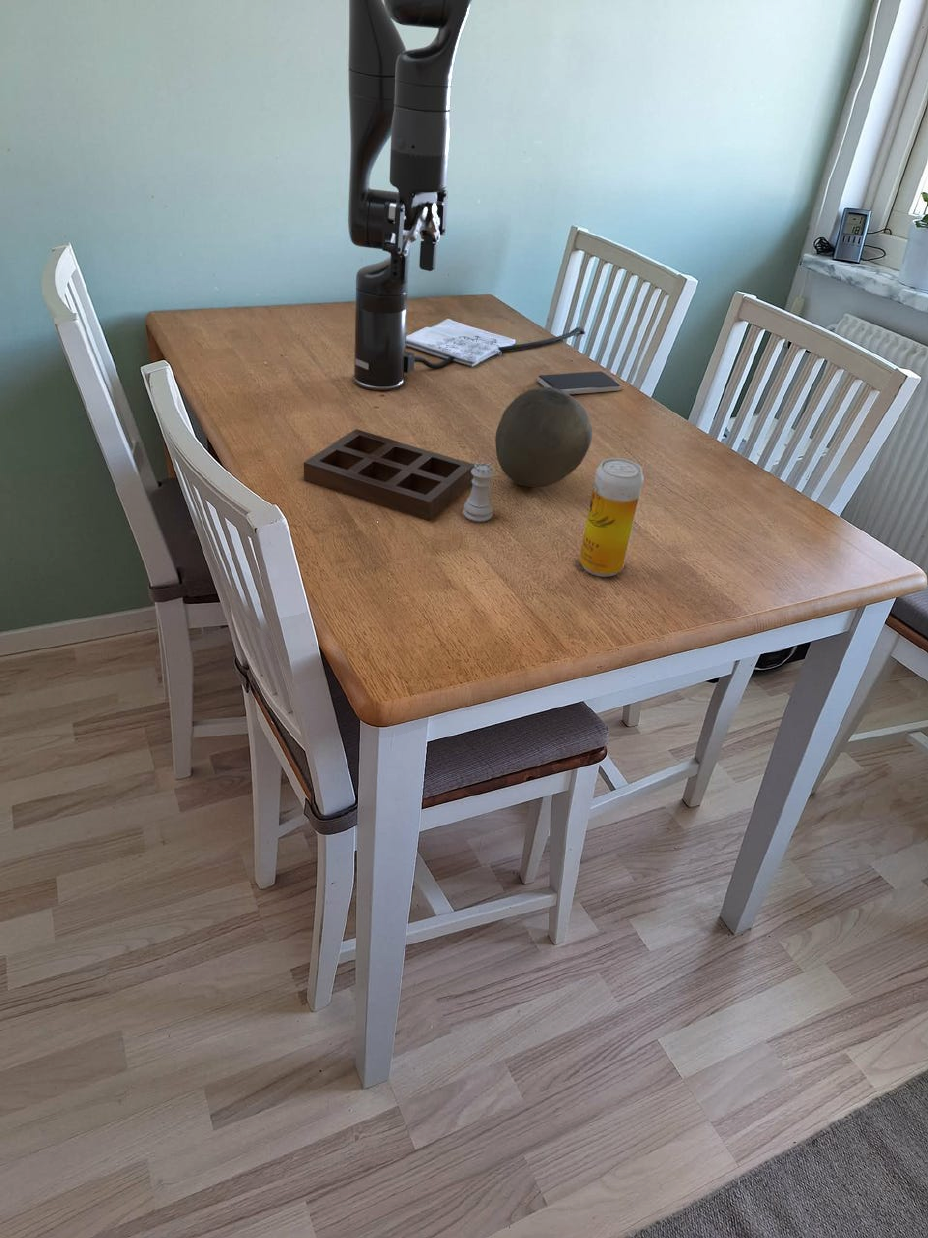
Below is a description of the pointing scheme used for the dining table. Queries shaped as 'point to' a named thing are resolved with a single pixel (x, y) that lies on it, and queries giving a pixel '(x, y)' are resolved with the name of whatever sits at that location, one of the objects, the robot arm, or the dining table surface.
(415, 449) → the open grid frame
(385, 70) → the robot arm
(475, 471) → the rook chess piece
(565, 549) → the dining table surface
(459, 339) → the white paper booklet
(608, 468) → the beer can
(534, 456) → the cantaloupe
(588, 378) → the smartphone
